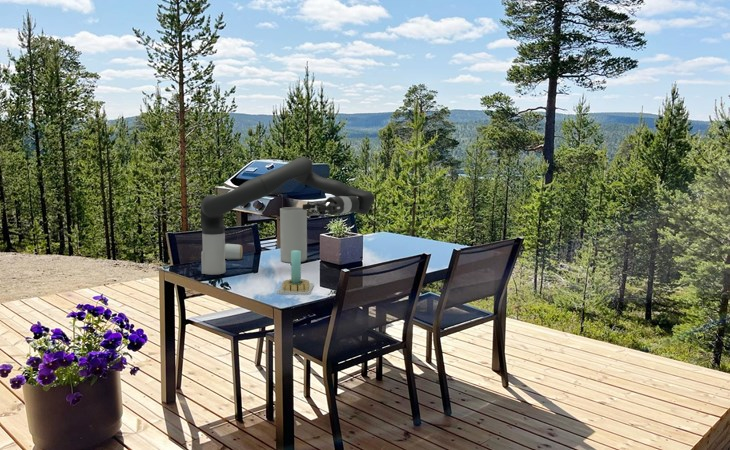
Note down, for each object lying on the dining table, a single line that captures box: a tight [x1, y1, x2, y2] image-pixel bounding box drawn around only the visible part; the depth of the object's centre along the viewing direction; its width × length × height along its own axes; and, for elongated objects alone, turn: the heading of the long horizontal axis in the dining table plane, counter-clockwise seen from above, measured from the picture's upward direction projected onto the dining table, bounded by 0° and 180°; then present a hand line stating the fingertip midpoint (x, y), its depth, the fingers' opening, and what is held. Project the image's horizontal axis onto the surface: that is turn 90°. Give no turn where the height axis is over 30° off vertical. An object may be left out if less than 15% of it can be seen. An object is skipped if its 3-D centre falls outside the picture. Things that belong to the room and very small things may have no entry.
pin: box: [290, 250, 302, 284], centre depth 207 cm, size 4×4×14 cm
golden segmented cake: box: [276, 278, 315, 296], centre depth 208 cm, size 12×13×3 cm
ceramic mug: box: [225, 243, 244, 261], centre depth 263 cm, size 11×8×8 cm
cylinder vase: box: [279, 206, 308, 264], centre depth 259 cm, size 12×12×25 cm
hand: (310, 208), depth 218 cm, fingers open, 8 cm apart
